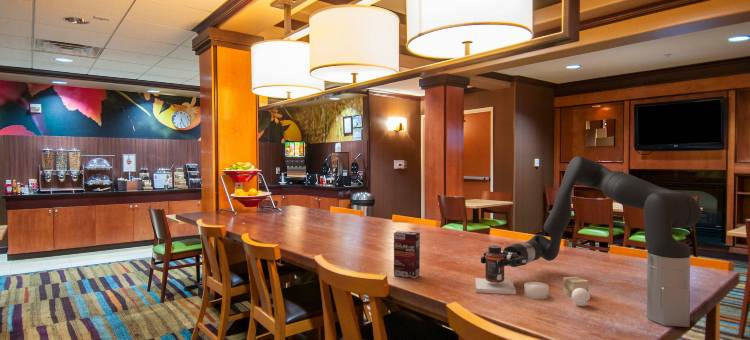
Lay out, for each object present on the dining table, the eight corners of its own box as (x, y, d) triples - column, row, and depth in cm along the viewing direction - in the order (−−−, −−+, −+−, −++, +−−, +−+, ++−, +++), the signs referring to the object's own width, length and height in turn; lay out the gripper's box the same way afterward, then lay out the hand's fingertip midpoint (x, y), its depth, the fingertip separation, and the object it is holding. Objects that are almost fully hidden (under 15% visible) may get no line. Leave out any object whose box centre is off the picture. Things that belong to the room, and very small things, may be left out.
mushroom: (584, 309, 120) (584, 291, 120) (568, 305, 124) (568, 287, 124) (593, 306, 123) (593, 288, 123) (577, 301, 127) (577, 284, 127)
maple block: (588, 297, 131) (588, 281, 131) (573, 298, 131) (573, 281, 131) (577, 292, 136) (577, 276, 136) (563, 293, 136) (563, 277, 135)
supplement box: (393, 276, 156) (393, 232, 155) (398, 273, 160) (398, 230, 160) (415, 279, 152) (415, 234, 151) (420, 275, 156) (420, 232, 156)
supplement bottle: (505, 283, 138) (505, 248, 137) (485, 282, 139) (485, 248, 138) (503, 278, 144) (503, 244, 143) (485, 277, 145) (484, 244, 144)
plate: (516, 294, 134) (516, 290, 134) (476, 292, 136) (476, 288, 136) (511, 283, 146) (511, 280, 146) (475, 281, 148) (475, 278, 148)
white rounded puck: (550, 300, 129) (550, 288, 129) (526, 299, 130) (526, 287, 130) (546, 293, 136) (546, 282, 136) (522, 292, 137) (522, 281, 137)
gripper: (501, 240, 155) (472, 247, 145) (538, 246, 144) (509, 254, 134) (501, 261, 156) (472, 269, 145) (538, 268, 145) (509, 278, 134)
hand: (490, 262), depth 139 cm, fingers closed on supplement bottle, 6 cm apart
